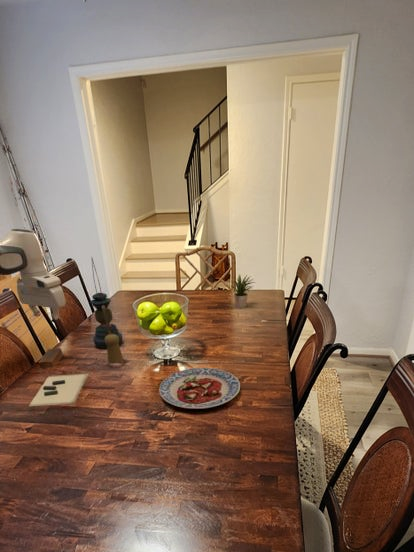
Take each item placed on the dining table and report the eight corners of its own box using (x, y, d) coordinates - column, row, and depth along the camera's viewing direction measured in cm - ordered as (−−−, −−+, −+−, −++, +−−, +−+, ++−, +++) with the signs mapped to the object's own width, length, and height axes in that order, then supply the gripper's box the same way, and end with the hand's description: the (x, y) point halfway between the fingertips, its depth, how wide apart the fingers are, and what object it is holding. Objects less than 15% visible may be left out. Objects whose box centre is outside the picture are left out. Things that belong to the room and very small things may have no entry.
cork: (116, 358, 144) (111, 331, 138) (127, 361, 141) (122, 334, 135) (104, 363, 140) (99, 336, 134) (115, 367, 137) (110, 339, 131)
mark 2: (44, 396, 119) (43, 393, 118) (45, 394, 120) (44, 392, 119) (57, 394, 119) (56, 391, 119) (58, 392, 120) (57, 390, 120)
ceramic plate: (249, 408, 110) (249, 399, 108) (162, 419, 107) (161, 410, 105) (230, 369, 131) (230, 362, 130) (157, 378, 128) (156, 370, 127)
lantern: (127, 346, 153) (112, 257, 135) (98, 353, 149) (79, 262, 131) (118, 335, 164) (103, 252, 146) (91, 341, 160) (72, 256, 142)
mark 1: (43, 390, 122) (42, 387, 122) (45, 388, 123) (44, 385, 123) (54, 390, 122) (54, 387, 121) (56, 388, 123) (55, 386, 122)
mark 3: (52, 385, 125) (52, 383, 124) (53, 383, 126) (52, 381, 125) (65, 383, 125) (64, 381, 125) (65, 382, 126) (64, 379, 126)
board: (29, 409, 115) (28, 406, 114) (49, 378, 132) (48, 375, 131) (75, 406, 115) (74, 403, 114) (89, 376, 132) (88, 373, 131)
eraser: (40, 370, 137) (38, 362, 136) (50, 357, 148) (48, 349, 146) (54, 370, 138) (51, 361, 136) (63, 356, 148) (61, 348, 146)
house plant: (246, 313, 183) (246, 279, 174) (222, 309, 189) (221, 276, 181) (258, 305, 193) (260, 272, 184) (235, 301, 199) (235, 270, 191)
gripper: (8, 279, 131) (20, 316, 139) (49, 283, 123) (59, 323, 130) (23, 275, 136) (33, 311, 143) (63, 279, 128) (72, 317, 135)
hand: (46, 317), depth 137 cm, fingers open, 8 cm apart
